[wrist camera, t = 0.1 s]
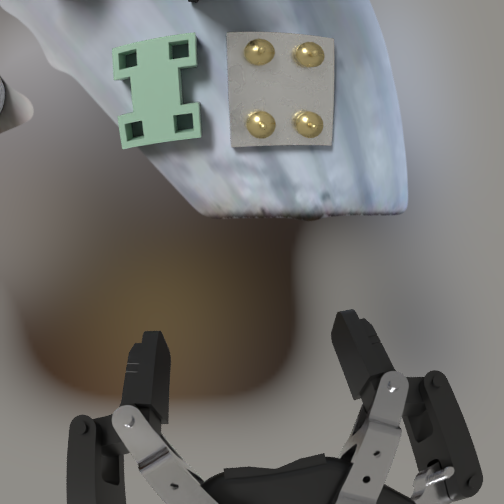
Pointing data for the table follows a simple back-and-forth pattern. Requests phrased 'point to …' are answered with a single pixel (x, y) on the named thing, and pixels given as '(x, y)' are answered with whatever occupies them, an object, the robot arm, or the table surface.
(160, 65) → the board
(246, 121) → the chassis
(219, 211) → the table surface
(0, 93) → the plastic bottle
